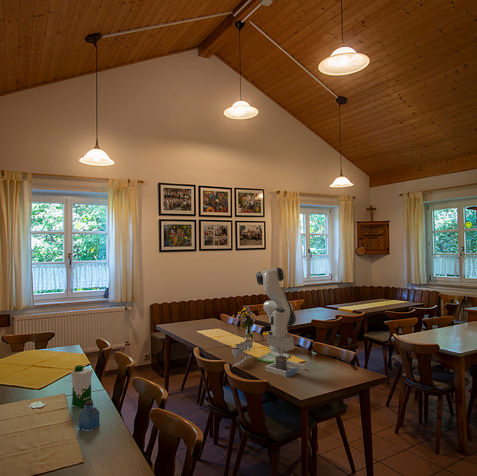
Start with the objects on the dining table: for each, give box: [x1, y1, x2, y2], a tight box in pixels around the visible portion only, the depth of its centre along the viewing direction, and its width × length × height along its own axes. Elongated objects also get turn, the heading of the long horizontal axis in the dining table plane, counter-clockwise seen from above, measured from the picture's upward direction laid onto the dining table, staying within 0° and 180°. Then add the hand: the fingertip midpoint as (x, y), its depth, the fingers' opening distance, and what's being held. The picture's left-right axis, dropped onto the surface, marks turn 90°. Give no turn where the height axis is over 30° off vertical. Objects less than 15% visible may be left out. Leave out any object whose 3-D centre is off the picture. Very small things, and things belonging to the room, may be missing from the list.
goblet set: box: [231, 339, 254, 367], centre depth 273 cm, size 28×6×13 cm, turn 154°
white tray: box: [264, 359, 306, 378], centre depth 251 cm, size 20×19×4 cm
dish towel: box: [256, 350, 291, 365], centre depth 277 cm, size 17×23×4 cm
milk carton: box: [70, 365, 94, 408], centre depth 198 cm, size 9×9×20 cm
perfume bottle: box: [78, 400, 100, 431], centre depth 173 cm, size 6×6×12 cm
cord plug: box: [276, 355, 287, 371], centre depth 248 cm, size 5×5×10 cm
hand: (280, 354), depth 248 cm, fingers closed
